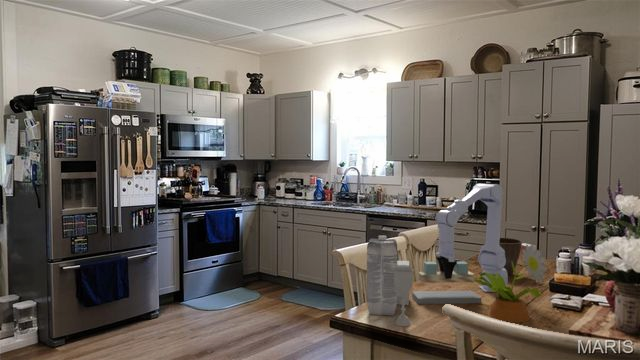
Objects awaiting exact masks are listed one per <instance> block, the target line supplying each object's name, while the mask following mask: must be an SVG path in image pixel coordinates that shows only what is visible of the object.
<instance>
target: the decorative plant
mask: <svg viewBox="0 0 640 360" xmlns="http://www.w3.org/2000/svg"><path fill="white" fill-rule="evenodd" d="M530 245H531V246H530V249H529V247H528V245H526V251H525V250H524V249H523V250H522V251H523V253H524V258H523V260H524V261H525V264H526V267H525V266H522V267H521V268H520V269H519V270H518V271H517V272H516V267H514V264H513V262H512V261H511V264H512V268H513V271H514V272H513V274H514V277H513V280H512V283H511V285H509V286H508V287H506V284H505V281H504V279H503V278H502V277H501V276H500V275H499V274H498V273H497V274H493V275H492V274H490V273H486V272H483V271H482V272H480V273H481V274H480V275H479V277H474V282H475V283H478V285H479V284H480V285H481V286H482V285H487V286H488V287H489V288H491V292H492V293H496V294H497V296H496V298H495V300H494V301H493V303H492V304H491V305H490V308H489V309H490V310H489V312H488V315H489V317H490V318H493V319H494V318H496V319H495V320H497V319H500V320H499V321H501V320H504V321H503V322H506V321H508V323H524V322H527V321H530V318H531V317H530V311H529V308H528V307H527V305H526V304H525V303H524V299H523V298H521V297H522V296H524V295H527V294H528V293H530V294H531V295H533V296H534V297H535V298H536V299H538V298H539V297H541V296H543V293H542V292H539V291H538V288H536V287H534V288H525V289H523V290H522V291H520V292H519V293H517V294H514V292H513V289H514V283H515V280H520V279H523V278H524V277H526V274H521V275H519V276H517V275H518V274H520V272H521V271H522V270H524V268H525V270H526V271H528V274H529V278H532V279H534V280H535V282H536V283H538V282H539V283H540V284H543V281H542V280H544V279H545V278H546V275H545V274H546V272H547V271H548V269H547V267H545V266H546V264H545V262H546V257H544V256H543V254H542V251H541V250H538V249H537V248H536V250H535V252H534V246H535V245H534V244H533V243H531V244H530ZM484 275H486V276H487V277H488V279H489V281H490V282H491V283H490V282H489V281H487V280H486V279H485V278H484V277H483V276H484ZM494 276H496V277H494ZM496 278H497V279H496ZM482 280H484V282H483V281H482ZM485 281H486V282H487V283H486V282H485ZM489 284H490V285H489ZM491 292H490V293H491Z"/></svg>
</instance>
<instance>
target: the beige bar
mask: <svg viewBox="0 0 640 360" xmlns="http://www.w3.org/2000/svg"><path fill="white" fill-rule="evenodd" d="M474 280H475V274H474V273H473V272H471V271H470V270H468V274H456V273H455V272H454V271H453V273H452V277H451V279H446V278H445V275H444V272H440V271H437V274H433V275H427V274H425V273H424V271H418V281H419V282H420V283H421V284H426V283H428V284H429V283H431V284H434V283H435V284H439V283H441V284H442V283H474V282H475V281H474Z"/></svg>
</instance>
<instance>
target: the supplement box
mask: <svg viewBox="0 0 640 360" xmlns="http://www.w3.org/2000/svg"><path fill="white" fill-rule="evenodd" d="M397 267H408V268H411V267H410V261H409V260H397ZM401 302H402V298H401V297H399V295H398V293H397V305H398V306H399V305H401ZM405 303H406V304H405V306H409V305H410V304H409V303H410V293H409V294H408V296H407V297H405ZM401 306H402V305H401Z"/></svg>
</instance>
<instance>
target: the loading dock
mask: <svg viewBox="0 0 640 360" xmlns="http://www.w3.org/2000/svg"><path fill="white" fill-rule="evenodd" d="M411 297H412V298H413V300H414V301H415V302H416V303H417V304H418V305H425V304H426V305H428V304H429V305H431V304H432V305H433V304H434V305H436V304H437V305H438V304H439V305H442V304H444V305H445V304H449V305H450V304H482V297H481V296H480V295H478V293H476V292H475V291H473V290H429V291H427V290H426V291H425V290H424V291H423V290H421V291H419V290H417V291H416V290H415V291H412V290H411Z"/></svg>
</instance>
